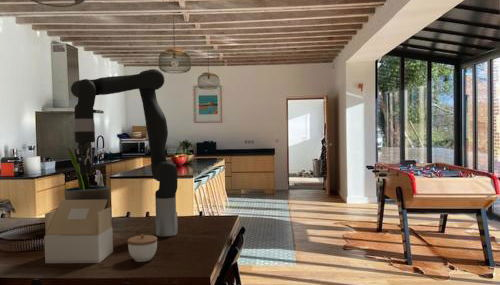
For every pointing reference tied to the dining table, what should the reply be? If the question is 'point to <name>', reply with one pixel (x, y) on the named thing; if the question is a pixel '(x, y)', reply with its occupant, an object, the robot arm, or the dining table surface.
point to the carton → (80, 242)
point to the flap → (76, 217)
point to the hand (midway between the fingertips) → (85, 173)
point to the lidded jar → (142, 247)
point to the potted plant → (86, 187)
